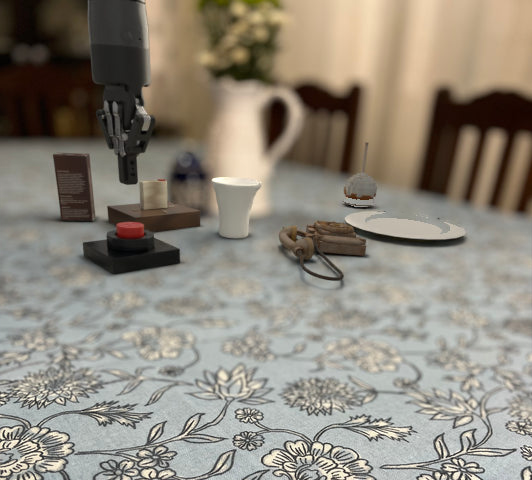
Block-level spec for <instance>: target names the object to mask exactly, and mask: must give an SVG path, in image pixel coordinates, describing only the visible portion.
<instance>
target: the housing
mask: <svg viewBox="0 0 532 480" xmlns="http://www.w3.org/2000/svg"><path fill="white" fill-rule="evenodd" d="M105 237H106V239H100V240H99V239H98V240H91V241H85V242H84V241H83V242H82V250H83V257H84V258H86V259H87V260H89V261H90V262H92V263H94V264H96V265H98V266H99V267H101V268H103V269H105V271H108V272H110V273H111V274H113V275H116V274H123V273H129V272H134V271H139V270H140V271H141V270H147V269H150V268H151V269H152V268H158V267H163V266H168V265H176V264H180V263H181V248H179V247H177V246H174V245H173V244H170V243H167V242H165V241H163V240H161V239H158V238H156V237H155V232H151V231H149V230H144V236H143V237H136V238H124V237H118V236H117V230H116V228H115V229H112V230H110V231H109V230H108V231H107V232H106V235H105Z"/></svg>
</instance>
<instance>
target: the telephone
mask: <svg viewBox="0 0 532 480" xmlns="http://www.w3.org/2000/svg"><path fill="white" fill-rule="evenodd" d="M298 237H301V238H300V239H297V238H298ZM278 240H279V242H280V244H281V245H282V246H283V247H285V248H286V249H287V250H288V251H291V253H292V255H294V256H295V257H296V258H298V259H299V264H300V267H301V269H302V270H303V271H304V272H305V273H306V274H308V275H310V276H312V277H315V278H317V279H321V280H324V281H331V282H339V281H341V280H343V279H344V278H345V277H344V276H345V275H344V272H343V271H342V270H341V269H340V268H339V267H337V265H335V264H334V263H333V262H332V260H330V259H329V258H328V257H327V256H326V255H325V254H326V253H327V254H338V255H349V256H362V257H365V255H366V250H367V245H366V243H367V239H366V238H362V237H361V236H357V233H356V232H355V228H354V227H352V226H351V225H349V224H347V223H345V222H337V221H325V220H315V221H314V223H313V224H307V225H306V227H305V231H304V230H301V229H298V226H297V225H290V226H289V225H288V226H286V227H285V226H282V228H281V229H280V231H279V232H278ZM316 253H318V254H319V255H320V256H321V258H322V259H324V261H326V263H327V264H328V265H329V266H330V267H331V268H332V269H334V270H335V272H336V273H338V274H339V276H328V275H323V274H320V273H317V272H315V271H312V270H311V269H308V268H307V267H306V266H305V264H304V261H310V260H311V259H312V258H313V256H314V255H315V254H316ZM324 253H325V254H324Z"/></svg>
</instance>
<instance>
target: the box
mask: <svg viewBox="0 0 532 480" xmlns="http://www.w3.org/2000/svg"><path fill="white" fill-rule="evenodd" d="M52 159H53V166H54V167H53V168H54V174H55V181H56V189H57V196H58V206H59V213H60V220H61V221H62V222H63V221H87V222H89V221H90V222H94V220H95V219H96V209H95V198H94V187H93V178H92V167H91V156H90V153H86V152H85V153H83V152H55V153H53V154H52Z"/></svg>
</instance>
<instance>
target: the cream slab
mask: <svg viewBox="0 0 532 480" xmlns="http://www.w3.org/2000/svg"><path fill="white" fill-rule="evenodd" d="M138 184H139V185H138V186H139V203H140V207H141V209H143V210H148V209H160V208H167V201H168V183H167V180H166V179H165V178H157V179H155V180H138Z"/></svg>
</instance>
